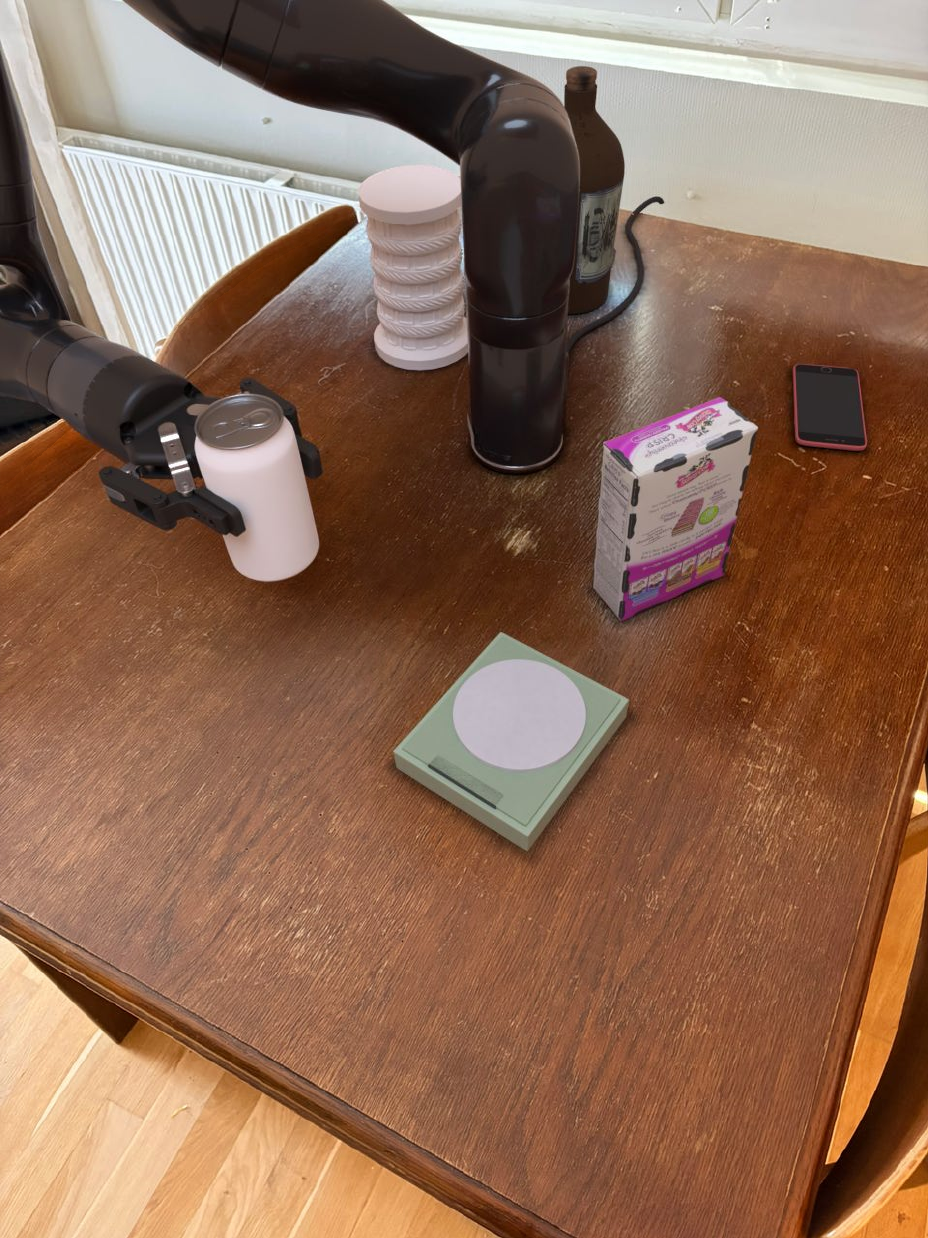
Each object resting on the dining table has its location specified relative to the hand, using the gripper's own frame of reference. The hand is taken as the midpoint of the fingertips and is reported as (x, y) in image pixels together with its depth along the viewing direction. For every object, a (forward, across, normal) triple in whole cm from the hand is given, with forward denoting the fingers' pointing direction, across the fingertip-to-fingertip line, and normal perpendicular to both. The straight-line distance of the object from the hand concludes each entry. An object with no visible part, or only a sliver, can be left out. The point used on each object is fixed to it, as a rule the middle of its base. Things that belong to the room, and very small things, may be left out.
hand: (279, 494), depth 59 cm
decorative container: (-25, +42, +20) cm, 53 cm away
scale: (+16, +4, +20) cm, 26 cm away
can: (-2, 0, +7) cm, 8 cm away
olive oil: (-17, +60, +20) cm, 66 cm away
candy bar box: (+16, +25, +20) cm, 36 cm away
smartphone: (+18, +57, +20) cm, 63 cm away
